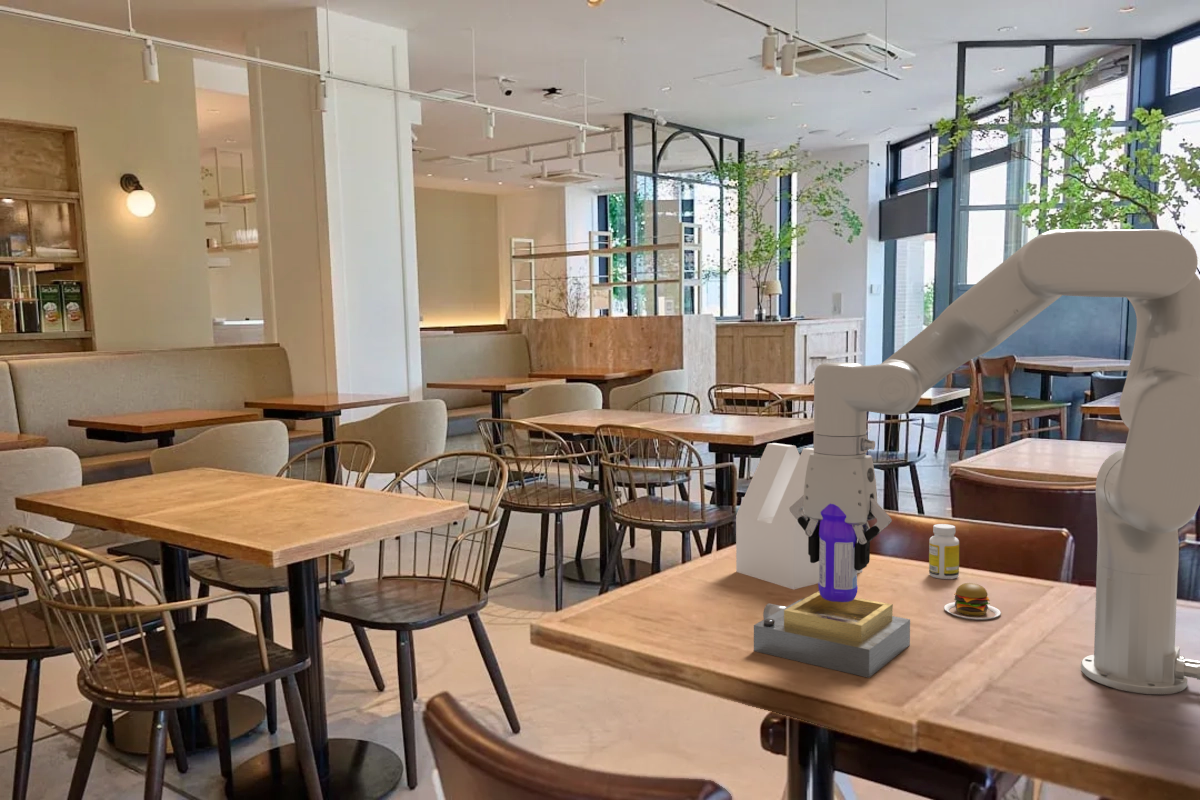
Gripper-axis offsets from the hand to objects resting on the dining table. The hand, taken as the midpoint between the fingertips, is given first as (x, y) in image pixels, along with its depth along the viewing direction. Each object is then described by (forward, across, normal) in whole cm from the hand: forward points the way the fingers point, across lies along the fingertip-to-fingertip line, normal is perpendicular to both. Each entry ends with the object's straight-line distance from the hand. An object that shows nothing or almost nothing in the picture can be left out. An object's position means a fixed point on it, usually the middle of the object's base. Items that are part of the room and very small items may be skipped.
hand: (838, 563), depth 138 cm
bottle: (+5, 0, 0) cm, 5 cm away
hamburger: (+14, -11, -30) cm, 34 cm away
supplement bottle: (+13, 0, -49) cm, 51 cm away
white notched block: (+14, +24, -36) cm, 45 cm away
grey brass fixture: (+13, +3, 0) cm, 14 cm away
